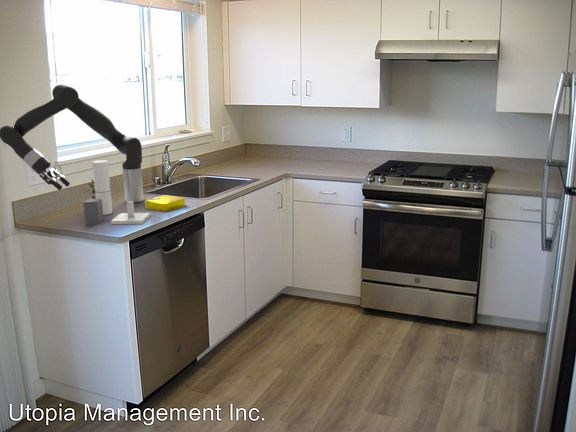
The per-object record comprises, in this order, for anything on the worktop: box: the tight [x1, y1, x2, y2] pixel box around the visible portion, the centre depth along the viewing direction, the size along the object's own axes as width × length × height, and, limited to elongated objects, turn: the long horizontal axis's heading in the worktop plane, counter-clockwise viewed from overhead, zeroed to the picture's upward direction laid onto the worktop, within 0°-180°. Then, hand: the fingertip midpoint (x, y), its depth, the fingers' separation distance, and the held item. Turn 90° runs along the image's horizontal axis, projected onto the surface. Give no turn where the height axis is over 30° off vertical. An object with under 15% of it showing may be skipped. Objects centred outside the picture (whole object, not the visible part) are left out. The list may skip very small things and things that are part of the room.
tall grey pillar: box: [82, 198, 105, 225], centre depth 270 cm, size 6×6×10 cm
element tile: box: [144, 194, 186, 212], centre depth 298 cm, size 15×15×5 cm
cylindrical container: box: [91, 159, 113, 216], centre depth 285 cm, size 7×7×25 cm
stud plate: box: [110, 201, 151, 225], centre depth 272 cm, size 14×14×8 cm
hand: (65, 186), depth 268 cm, fingers open, 8 cm apart
